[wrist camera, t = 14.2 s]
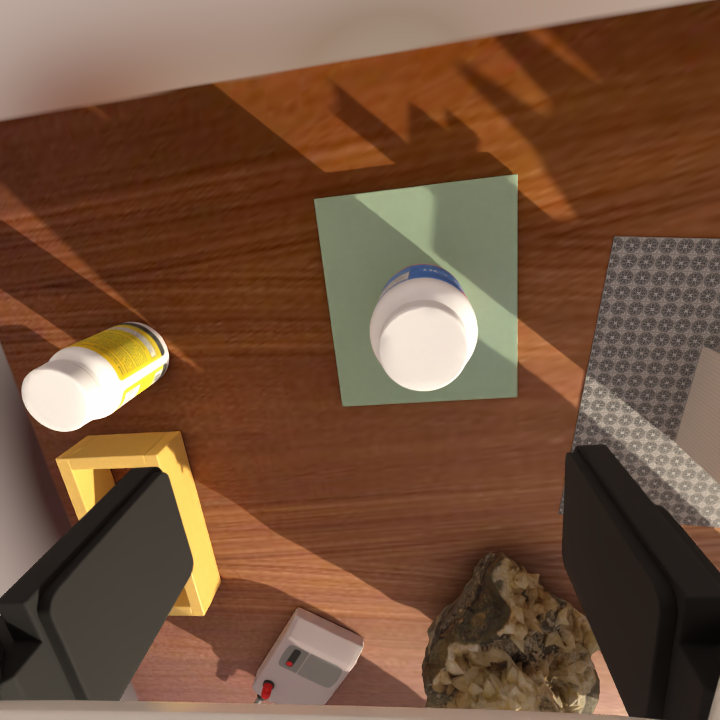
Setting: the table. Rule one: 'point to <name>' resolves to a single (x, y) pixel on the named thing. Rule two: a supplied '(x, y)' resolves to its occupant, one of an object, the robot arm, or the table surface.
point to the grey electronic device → (307, 661)
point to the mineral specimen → (510, 647)
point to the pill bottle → (423, 328)
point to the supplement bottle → (95, 376)
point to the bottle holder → (167, 451)
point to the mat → (423, 246)
